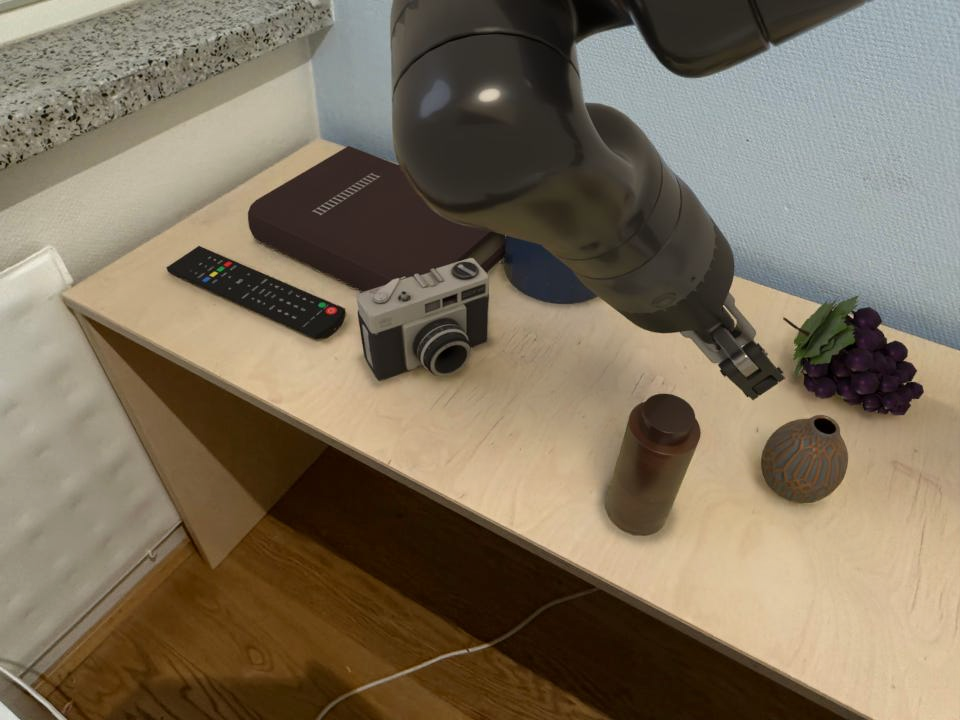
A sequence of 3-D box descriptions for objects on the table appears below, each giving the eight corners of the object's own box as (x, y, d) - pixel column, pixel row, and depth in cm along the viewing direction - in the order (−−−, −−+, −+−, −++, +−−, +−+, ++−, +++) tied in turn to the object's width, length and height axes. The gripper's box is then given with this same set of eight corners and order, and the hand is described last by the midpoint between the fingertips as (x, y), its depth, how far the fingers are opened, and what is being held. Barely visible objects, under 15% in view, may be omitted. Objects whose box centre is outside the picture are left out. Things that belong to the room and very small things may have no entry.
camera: (381, 405, 69) (371, 332, 62) (360, 349, 75) (349, 277, 68) (505, 372, 73) (509, 299, 66) (476, 321, 79) (476, 250, 72)
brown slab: (254, 246, 88) (243, 207, 84) (353, 182, 99) (348, 145, 95) (423, 329, 77) (421, 290, 73) (513, 248, 89) (515, 209, 84)
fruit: (869, 453, 70) (743, 373, 72) (897, 381, 75) (778, 309, 77) (942, 414, 61) (795, 324, 63) (969, 336, 66) (831, 255, 68)
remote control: (201, 254, 86) (198, 245, 85) (350, 318, 78) (348, 310, 77) (169, 276, 83) (166, 267, 82) (320, 345, 75) (318, 337, 74)
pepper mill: (674, 497, 62) (714, 401, 52) (656, 546, 58) (695, 452, 49) (617, 473, 64) (645, 376, 54) (596, 519, 60) (622, 424, 50)
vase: (759, 443, 66) (790, 384, 60) (832, 471, 64) (872, 412, 58) (744, 496, 62) (776, 438, 56) (822, 527, 60) (864, 470, 54)
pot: (628, 255, 88) (644, 184, 80) (590, 317, 79) (604, 245, 72) (531, 225, 92) (537, 156, 85) (485, 281, 84) (487, 209, 76)
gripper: (783, 294, 33) (832, 373, 46) (635, 130, 41) (712, 236, 53) (660, 385, 35) (739, 435, 48) (541, 214, 43) (637, 296, 56)
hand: (725, 331), depth 51 cm, fingers open, 8 cm apart
